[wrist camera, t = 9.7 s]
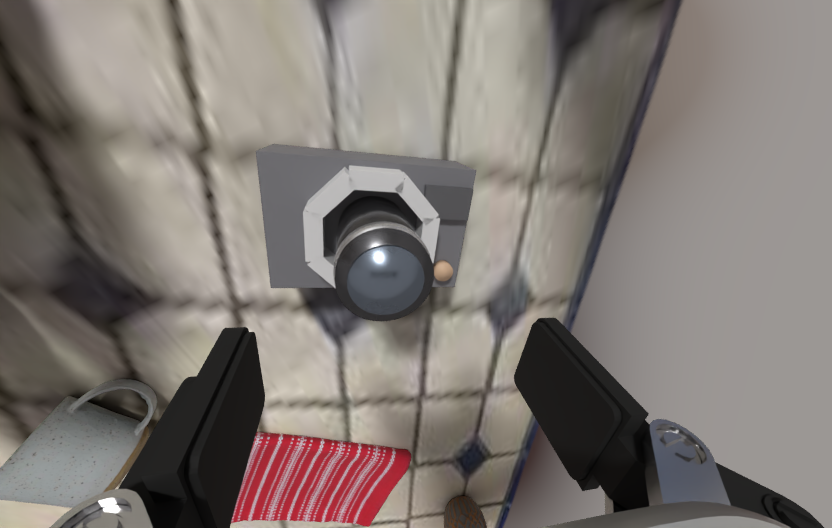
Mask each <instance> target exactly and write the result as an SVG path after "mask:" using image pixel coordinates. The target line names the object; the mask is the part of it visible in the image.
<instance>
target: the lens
mask: <svg viewBox="0 0 832 528" xmlns="http://www.w3.org/2000/svg"><path fill="white" fill-rule="evenodd" d="M333 276H334V282H335V287H336V292H337V294H338V297H339V298H340V300H341V302H342V303H343V304H344V306H345V307H346V308H347V309H348V310H349V311H351V312H352V313H354V314H355V315H357V316H359V317H362V318H364V319H368V320H373V321H390V320H395V319H398V318H401V317H403V316H406V315H408V314H409V313H411V312H413V311H414V310H416V309H417V308H418V307H419V306H420V305H421V304H422V303H423V302H424V301H425V299H426V298H427V296H428V295H429V293H430V291H431V288H432V285H433V281H434V268H433V263H432V260H431V257H430V254H429V251H428V249H427V248H426V246H425V244H424V243H423V241H422V240H421V238H420V237H419V236H418V235H417V234H416V233H415V232H414V230H413V228H412V227H411V225H410V224H409V222H408V220H407V219H406V217H405V215H404V214H403V212H402V211H401V209H400V208H399V207H398V206H397V205H396V204H395V203H393V202H392V201H390V200H389V199H386V198H383V197H380V196H366V197H362V198H359V199H357V200H355V201H353V202H352V203H350V204H349V205H348V206H347V207H346V208H345V209H344V211H343V212H342V214H341V216H340V219H339V222H338V232H337V250H336V255H335V259H334V269H333Z"/></svg>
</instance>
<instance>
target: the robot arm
mask: <svg viewBox="0 0 832 528" xmlns="http://www.w3.org/2000/svg"><path fill="white" fill-rule="evenodd" d="M514 381H515V384H516V386H517V388H518V389H519V391H520V393H521V394H522V396H523V398H524V399H525V401H526V403H527V404H528V406H529V408H530V410H531V411H532V413H533V415H534V416H535V418H536V420H537V421H538V423H539V425H540V426H541V428H542V430H543V431H544V433H545V435H546V436H547V438H548V440H549V441H550V443H551V445H552V447H553V448H554V450H555V451H556V453H557V455H558V457H559V458H560V460H561V461H562V463H563V465H564V467H565V468H566V470H567V471H568V473H569V475H570V476H571V477H572V478H573V479H574V480H576V481H577V482H578V484H579V486H580V487H581V489H582V491H585V490H590V489H596V488H598V487H599V485H601V487H602V489H603V490H604V492H605V515H601V516H596V517H591V518H586V519H581V520H577V521H571V522H567V523H562V524H557V525H552V526H547V527H542V528H824V527H823V526H822V525H821V524H820V523H819V522H818V521H817V520H816V519H815V518H814V517H813V516H812V515H811V514H810V513H809V512H807V511H806V510H805V509H803V508H802V507H800V506H799V505H797V504H796V503H794V502H793V501H791V500H789V499H787V498H786V497H784V496H782V495H780V494H778V493H776V492H774V491H772V490H770V489H768V488H766V487H764V486H762V485H760V484H758V483H756V482H754V481H752V480H750V479H748V478H746V477H743V476H742V475H740V474H738V473H736V472H734V471H732V470H730V469H728V468H726V467H724V466H722V465H720V464H718V463H716V462H715V461H714V458H713V456H712V454H711V452H710V450H709V449H708V448H707V447H706V445H705V444H704V443H703V442H702V441H701V440H700V439H699V438H698V437H697V436H695V435H694V434H693V433H692V432H690V431H689V430H687V429H686V428H684V427H682V426H680V425H678V424H676V423H674V422H671V421H668V420H664V419H656V420H653V421H652V422H651V423H650V425H649V424H648V423H647V422H646V421H645V419H646V417H647V416H648V413H647V412H646V411H645V410H644V409H643V407H642V406H641V405H640V404H639V403H638V402H637V401H636V400H635V399H634V398H633V397H632V396H631V395H630V394H629V393H628V392H627V391H626V390H625V389H624V388H623V387H622V386H621V385H620V384H619V383H618V382H617V381H616V380H615V379H614V377H613V376H611V374H610V373H609V372H608V371H607V370H606V369H605V368H604V367H603V366H602V365H601V364H600V363H599V362H598V361H597V360H596V359H595V358H594V357H593V356H592V355H591V354H590V353H589V352H588V351H587V350H586V349H585V348H584V347H583V345H581V343H579V341H578V340H577V339H576V338H575V337H574V336H573V335H572V334H571V333H570V332H569V331H568V330H567V329H566V328H565V327H564V326H563V325H562V324H561V323H560V322H559V321H558V320H557V319H556V318H539V319H538V320H537V321H536V322H535V323H533V325H532V327H531V330H530V333H529V336H528V338H527V341H526V344H525V347H524V350H523V352H522V355H521V358H520V361H519V363H518V366H517V369H516V372H515V375H514ZM264 402H265V392H264V386H263V380H262V373H261V367H260V361H259V354H258V348H257V342H256V336H255V333H254V332H249V331H248V328H246V327H241V328H225V329H223V331H222V332H221V334H220V336H219V338H218V339H217V341H216V343H215V345H214V347H213V348H212V350H211V352H210V354H209V356H208V357H207V359H206V361H205V363H204V364H203V366H202V368H201V370H200V372H199V373H198V375H197V377H188V378H186V379H185V380H184V381H183V383H182V384H181V385H180V387H179V389H178V390H177V392H176V394H175V395H174V397H173V399H172V400H171V402H170V404H169V405H168V407H167V409H166V410H165V412H164V414H163V415H162V417H161V419H160V420H159V422H158V424H157V425H156V427H155V429H154V430H153V432H152V434H151V435H150V437H149V439H148V440H147V442H146V444H145V445H144V447H143V449H142V450H141V452H140V454H139V455H138V457H137V459H136V460H135V462H134V464H133V465H132V467H131V469H130V470H129V472H128V474H127V475H126V477H125V479H124V480H123V482H122V484H121V485H120V487H119V489H113V490H110V491H106V492H103V493H100V494H97V495H95V496H93V497H91V498H89V499H87V500H85V501H83V502H81V503H80V504H78V505H77V506H75V507H74V508H72V509H71V510H70V511H68V512H67V513H65V514H64V515H63V516H62V517H61V518H60V519H58V520H57V521H56V522H55V523H54V524H53V525H52V526H51V527H50V528H230V524H231V521H232V517H233V514H234V510H235V506H236V503H237V499H238V496H239V492H240V489H241V485H242V482H243V478H244V475H245V471H246V467H247V464H248V460H249V457H250V453H251V450H252V446H253V443H254V439H255V436H256V432H257V429H258V425H259V421H260V418H261V414H262V411H263V407H264Z"/></svg>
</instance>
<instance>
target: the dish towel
mask: <svg viewBox="0 0 832 528" xmlns="http://www.w3.org/2000/svg"><path fill="white" fill-rule="evenodd" d="M410 461H411V453H410V452H409V451H408V450H406V449H395V448H390V447H384V446H378V445H367V444H360V443H353V442H345V441H336V440H329V439H324V438H314V437H307V436H297V435H286V434H274V433H264V432H256V436H255V439H254V443H253V446H252V450H251V453H250V457H249V460H248V464H247V467H246V471H245V475H244V478H243V482H242V485H241V489H240V492H239V496H238V499H237V503H236V506H235V510H234V514H233V517H232V521H231V523H234V522H240V521H243V520H247V521H253V520H265V521H279V520H286V521H291V520H293V521H305V522H311V521H313V522H315V521H316V522H329V521H331V522H332V521H335V522H340V523H353V524H356V523H357V524H360V525H362V526H370V524H371V522H372V521H373V519H374V518H375V516H376V515H377V513H378V512H379V510H380V508H381V507H382V505H383V504H384V502H385V500H386V499H387V497H388V495H389V494H390V492H391V491H392V489H393V488H394V487H395V485H396V484H397V483H398V481H399V480H400V479H401V478H402V476H403V475H404V474H405V473H406V471H407V469H408V467H409V464H410Z"/></svg>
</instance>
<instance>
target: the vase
mask: <svg viewBox="0 0 832 528" xmlns="http://www.w3.org/2000/svg"><path fill="white" fill-rule="evenodd" d="M444 528H487V526H486V522H485V519H484V516H483V514H482V511H481V510H480V508H479V506H478V505H477V504H476V502H474V501H473V500H472V499H470V498H469V497H467V496H459V497H456V498H454V499H452V500H451V501H450V502H449V503H448V505H447V507H446V509H445V513H444Z"/></svg>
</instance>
